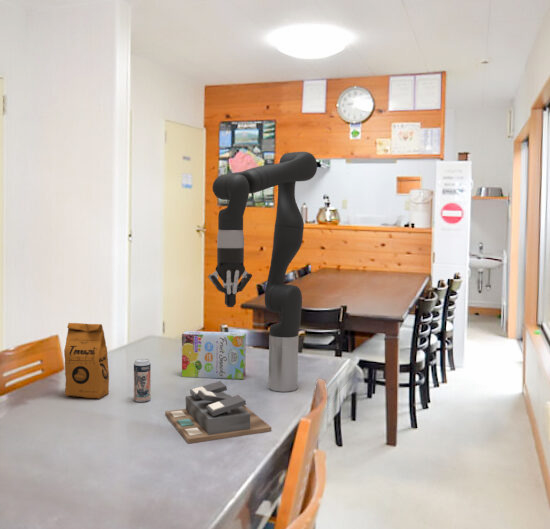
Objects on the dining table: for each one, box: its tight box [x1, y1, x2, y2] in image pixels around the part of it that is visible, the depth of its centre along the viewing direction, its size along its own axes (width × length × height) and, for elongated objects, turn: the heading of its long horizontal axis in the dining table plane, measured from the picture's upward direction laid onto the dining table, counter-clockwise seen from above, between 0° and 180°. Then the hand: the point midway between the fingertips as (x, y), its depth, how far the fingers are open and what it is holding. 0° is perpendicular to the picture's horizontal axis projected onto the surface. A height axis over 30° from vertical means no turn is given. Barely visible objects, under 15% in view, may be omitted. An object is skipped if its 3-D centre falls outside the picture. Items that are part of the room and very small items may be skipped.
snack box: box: [181, 330, 247, 380], centre depth 205 cm, size 21×6×15 cm, turn 84°
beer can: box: [133, 358, 152, 403], centre depth 178 cm, size 5×5×12 cm
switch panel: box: [164, 391, 272, 445], centre depth 160 cm, size 22×22×5 cm
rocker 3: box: [206, 394, 247, 416], centre depth 154 cm, size 5×9×2 cm, turn 115°
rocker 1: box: [189, 381, 228, 399], centre depth 166 cm, size 5×9×2 cm, turn 115°
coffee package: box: [63, 322, 110, 400], centre depth 181 cm, size 10×12×22 cm
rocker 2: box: [198, 390, 233, 403], centre depth 160 cm, size 5×9×2 cm, turn 115°
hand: (230, 306), depth 172 cm, fingers closed
